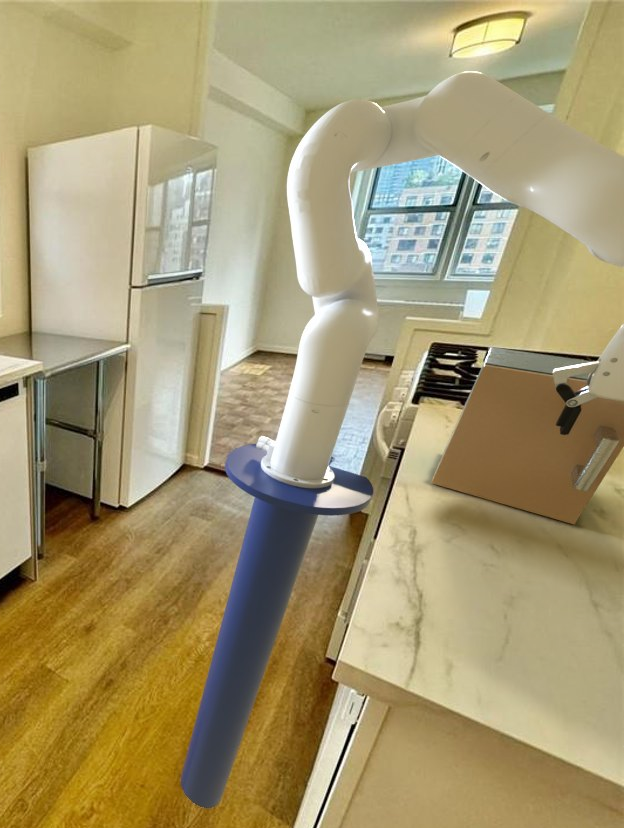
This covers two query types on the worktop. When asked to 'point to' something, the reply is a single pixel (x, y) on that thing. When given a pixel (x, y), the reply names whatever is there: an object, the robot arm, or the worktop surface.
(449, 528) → the worktop surface
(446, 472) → the fridge door
